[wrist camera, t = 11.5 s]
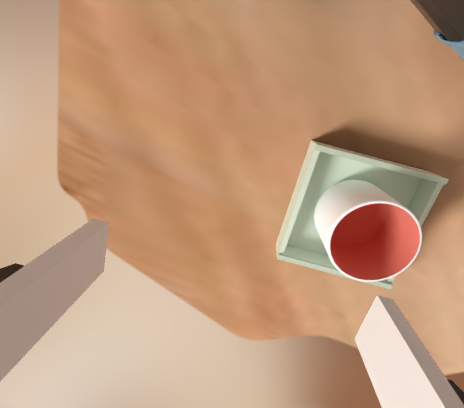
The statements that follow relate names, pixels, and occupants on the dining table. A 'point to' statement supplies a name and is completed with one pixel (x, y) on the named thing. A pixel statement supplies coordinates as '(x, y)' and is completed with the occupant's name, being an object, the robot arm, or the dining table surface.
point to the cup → (366, 231)
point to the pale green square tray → (338, 170)
